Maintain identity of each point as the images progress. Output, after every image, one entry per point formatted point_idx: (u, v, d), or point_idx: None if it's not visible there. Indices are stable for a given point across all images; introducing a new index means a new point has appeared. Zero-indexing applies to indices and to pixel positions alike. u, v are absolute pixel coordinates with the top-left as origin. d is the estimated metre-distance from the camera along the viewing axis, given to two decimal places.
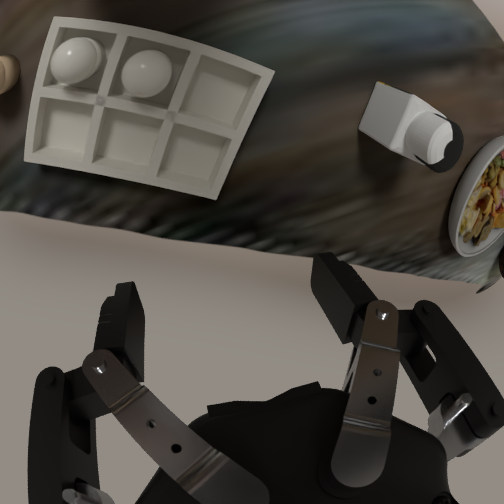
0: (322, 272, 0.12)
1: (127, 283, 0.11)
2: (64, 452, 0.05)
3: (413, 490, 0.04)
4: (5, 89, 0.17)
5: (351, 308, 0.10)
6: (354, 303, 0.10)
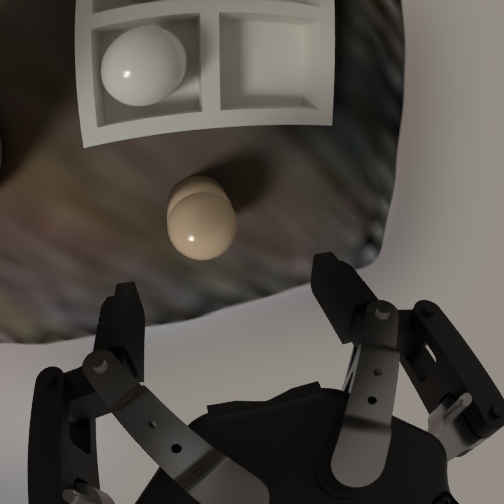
0: (322, 272, 0.12)
1: (127, 283, 0.11)
2: (64, 452, 0.05)
3: (413, 490, 0.04)
4: (218, 189, 0.19)
5: (351, 308, 0.10)
6: (354, 303, 0.10)
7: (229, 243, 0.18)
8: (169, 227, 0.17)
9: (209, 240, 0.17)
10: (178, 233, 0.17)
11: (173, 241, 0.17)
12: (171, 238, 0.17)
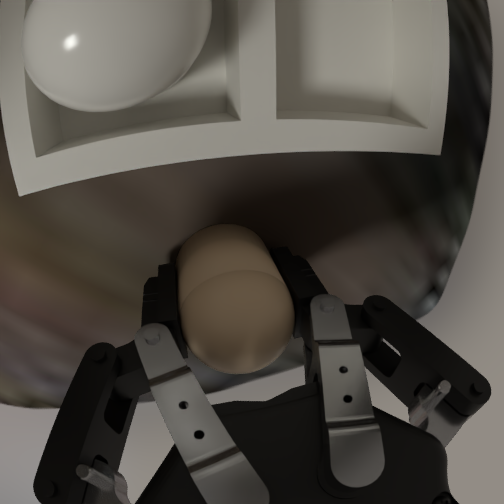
0: (276, 266, 0.13)
1: (169, 264, 0.12)
2: (93, 429, 0.06)
3: (423, 489, 0.04)
4: (261, 254, 0.12)
5: (297, 301, 0.10)
6: (299, 296, 0.10)
7: (283, 350, 0.10)
8: (183, 329, 0.10)
9: (255, 358, 0.09)
10: (199, 345, 0.09)
11: (191, 350, 0.10)
12: (187, 345, 0.10)
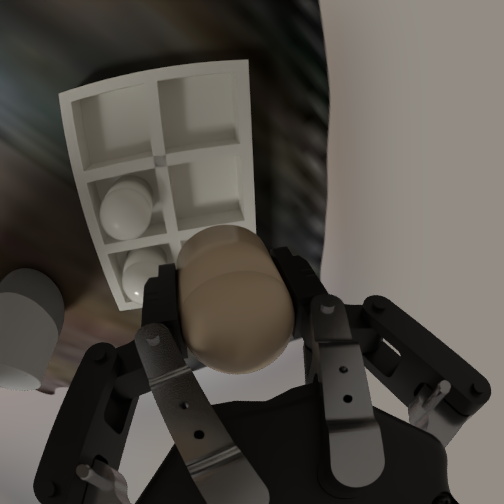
0: (276, 266, 0.13)
1: (169, 264, 0.12)
2: (93, 429, 0.06)
3: (423, 489, 0.04)
4: (261, 255, 0.12)
5: (297, 301, 0.10)
6: (299, 296, 0.10)
7: (283, 350, 0.10)
8: (183, 330, 0.10)
9: (255, 359, 0.09)
10: (199, 346, 0.09)
11: (191, 351, 0.10)
12: (187, 345, 0.10)
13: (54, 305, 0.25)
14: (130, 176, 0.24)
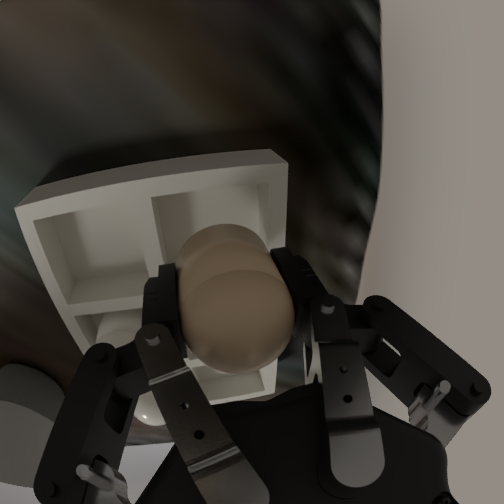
0: (276, 266, 0.13)
1: (169, 264, 0.12)
2: (93, 429, 0.06)
3: (423, 489, 0.04)
4: (261, 254, 0.12)
5: (297, 302, 0.10)
6: (299, 296, 0.10)
7: (283, 350, 0.10)
8: (183, 329, 0.10)
9: (255, 358, 0.09)
10: (200, 345, 0.09)
11: (191, 350, 0.10)
12: (187, 345, 0.10)
13: (56, 409, 0.20)
14: None
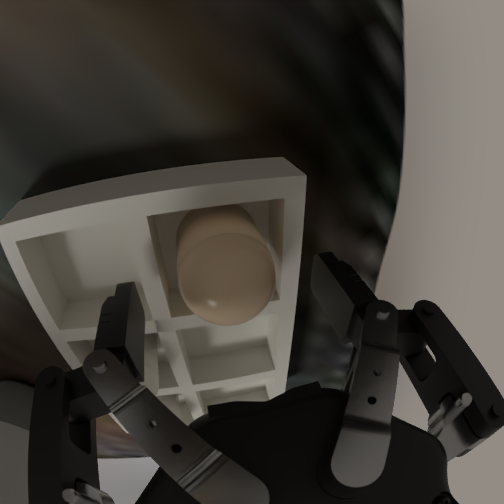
0: (322, 272, 0.12)
1: (127, 283, 0.11)
2: (64, 452, 0.05)
3: (413, 490, 0.04)
4: (248, 224, 0.14)
5: (351, 308, 0.10)
6: (354, 303, 0.10)
7: (266, 305, 0.13)
8: (180, 284, 0.12)
9: (240, 307, 0.11)
10: (194, 295, 0.11)
11: (187, 303, 0.12)
12: (184, 298, 0.12)
13: None
14: None
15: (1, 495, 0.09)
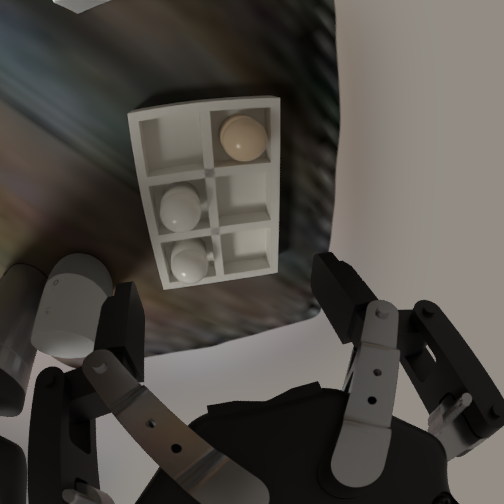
0: (322, 272, 0.12)
1: (127, 283, 0.11)
2: (64, 452, 0.05)
3: (413, 490, 0.04)
4: None
5: (351, 308, 0.10)
6: (354, 303, 0.10)
7: (262, 148, 0.27)
8: (224, 137, 0.26)
9: (251, 143, 0.25)
10: (231, 139, 0.25)
11: (226, 146, 0.26)
12: (225, 144, 0.26)
13: (107, 284, 0.33)
14: (181, 181, 0.32)
15: (55, 323, 0.24)
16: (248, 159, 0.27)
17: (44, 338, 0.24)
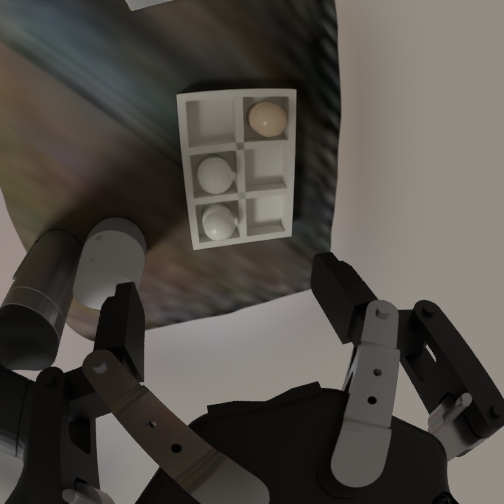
0: (322, 272, 0.12)
1: (127, 283, 0.11)
2: (64, 452, 0.05)
3: (413, 490, 0.04)
4: None
5: (351, 308, 0.10)
6: (354, 303, 0.10)
7: (284, 126, 0.33)
8: (254, 117, 0.33)
9: (276, 121, 0.32)
10: (260, 117, 0.32)
11: (256, 123, 0.33)
12: (255, 122, 0.33)
13: (143, 243, 0.39)
14: (214, 154, 0.38)
15: (103, 267, 0.30)
16: (272, 134, 0.34)
17: (89, 283, 0.29)
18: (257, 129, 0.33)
